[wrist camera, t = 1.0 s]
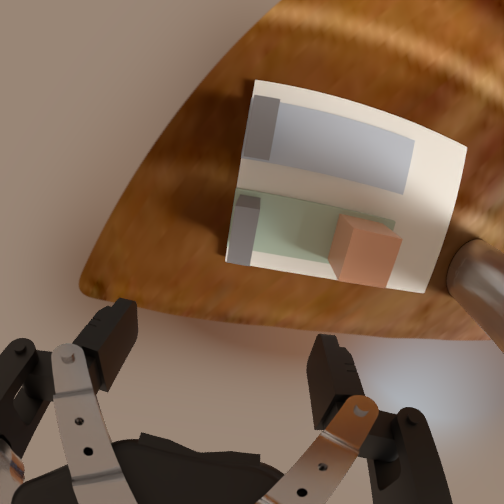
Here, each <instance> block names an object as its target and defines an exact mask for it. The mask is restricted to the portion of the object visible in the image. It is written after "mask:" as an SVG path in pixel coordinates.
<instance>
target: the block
mask: <svg viewBox="0 0 504 504" xmlns="http://www.w3.org/2000/svg"><path fill="white" fill-rule="evenodd" d="M402 240H403V239H402V238H401V237H399V236H398V235H397V234H396V233H394V232H393V231H392V230H391V229H389V228H388V227H387V226H385V225H384V224H383V223H379V222H375V221H370V220H366V219H362V218H358V217H353V216H349V215H344V214H339V218H338V222H337V225H336V229H335V233H334V237H333V241H332V244H331V248H330V252H329V255H328V261H329V263H330V265H331V267H332V269H333V271H334V273H335V275H336V277H337V280H338V281H342V282H348V283H355V284H361V285H367V286H374V287H380V288H386V286H387V283H388V280H389V278H390V275H391V272H392V269H393V267H394V264H395V261H396V258H397V255H398V252H399V249H400V246H401V243H402Z"/></svg>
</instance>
